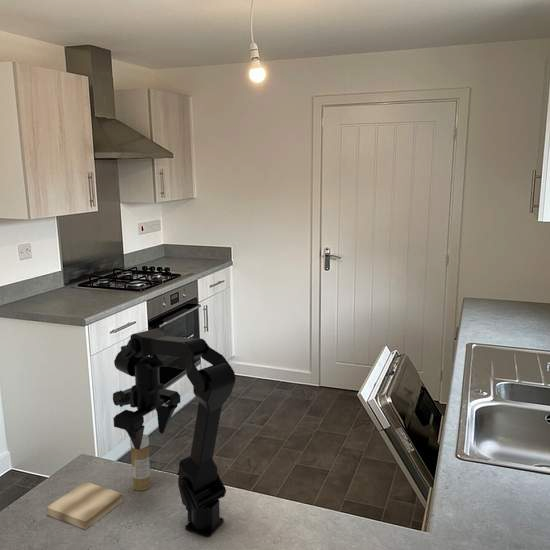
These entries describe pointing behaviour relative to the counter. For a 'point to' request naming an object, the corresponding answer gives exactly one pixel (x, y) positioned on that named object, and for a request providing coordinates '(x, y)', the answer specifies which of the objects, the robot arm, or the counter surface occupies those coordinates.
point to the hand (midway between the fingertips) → (149, 440)
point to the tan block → (85, 505)
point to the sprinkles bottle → (141, 465)
